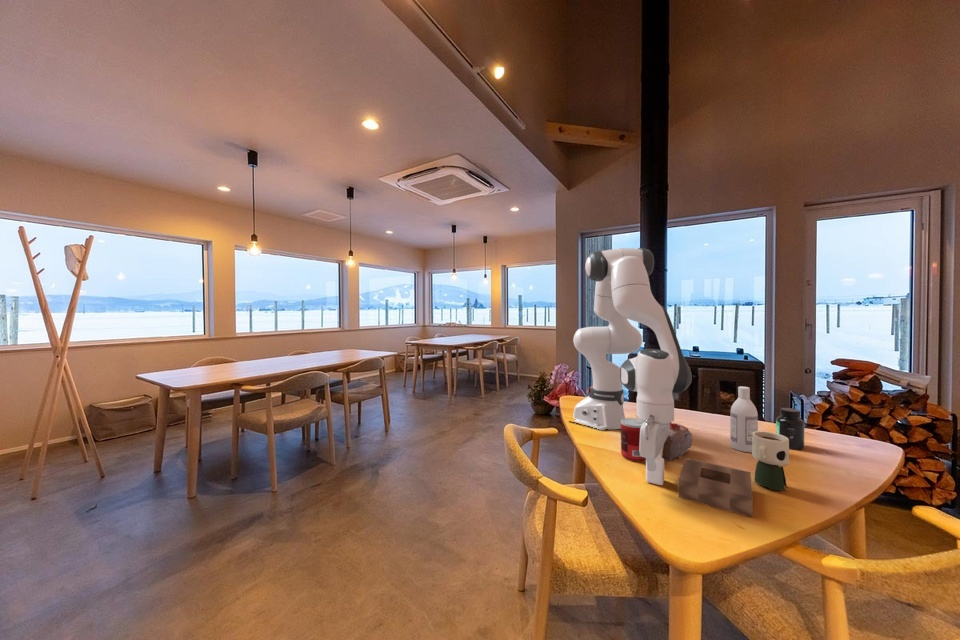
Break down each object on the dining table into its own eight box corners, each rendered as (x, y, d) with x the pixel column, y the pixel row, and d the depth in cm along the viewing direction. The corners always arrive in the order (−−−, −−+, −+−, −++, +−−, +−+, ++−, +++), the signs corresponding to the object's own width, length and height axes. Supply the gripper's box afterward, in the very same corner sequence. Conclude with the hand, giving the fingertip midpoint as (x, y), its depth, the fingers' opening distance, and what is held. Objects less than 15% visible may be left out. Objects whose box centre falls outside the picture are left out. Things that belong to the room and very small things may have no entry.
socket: (678, 497, 82) (678, 478, 82) (685, 474, 93) (685, 458, 93) (752, 517, 73) (752, 497, 73) (750, 489, 85) (750, 472, 84)
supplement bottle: (774, 445, 111) (774, 409, 110) (777, 440, 115) (777, 405, 115) (803, 452, 106) (803, 414, 105) (805, 446, 110) (805, 409, 110)
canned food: (654, 458, 103) (654, 422, 103) (637, 464, 99) (637, 427, 99) (632, 449, 110) (631, 416, 110) (615, 455, 106) (615, 420, 106)
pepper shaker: (645, 482, 89) (645, 447, 89) (647, 476, 92) (647, 442, 92) (662, 486, 87) (662, 450, 87) (664, 480, 90) (664, 445, 90)
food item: (667, 444, 114) (667, 415, 114) (694, 451, 108) (693, 421, 107) (648, 455, 105) (648, 424, 105) (676, 464, 99) (675, 431, 99)
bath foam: (760, 449, 109) (760, 387, 108) (754, 455, 104) (754, 390, 104) (733, 442, 114) (734, 383, 113) (727, 448, 109) (727, 387, 109)
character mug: (778, 499, 80) (778, 445, 80) (743, 485, 87) (743, 435, 86) (797, 486, 86) (797, 436, 85) (762, 475, 92) (762, 427, 92)
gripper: (661, 424, 79) (661, 482, 79) (674, 404, 95) (674, 453, 95) (632, 419, 83) (632, 475, 83) (649, 401, 99) (650, 448, 99)
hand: (655, 463), depth 89 cm, fingers open, 8 cm apart
